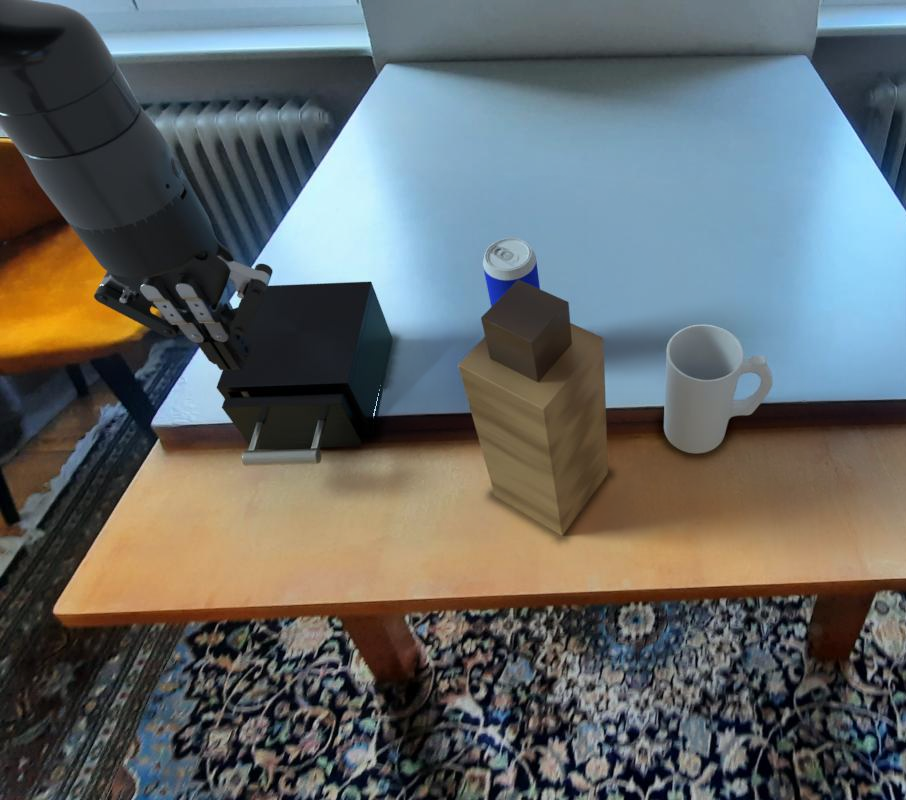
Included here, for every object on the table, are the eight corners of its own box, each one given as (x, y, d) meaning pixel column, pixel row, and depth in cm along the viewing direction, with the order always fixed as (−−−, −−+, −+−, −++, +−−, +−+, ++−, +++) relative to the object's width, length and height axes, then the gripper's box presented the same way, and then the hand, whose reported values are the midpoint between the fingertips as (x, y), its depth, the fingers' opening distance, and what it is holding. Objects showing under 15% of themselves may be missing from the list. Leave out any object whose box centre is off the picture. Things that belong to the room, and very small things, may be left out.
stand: (562, 536, 68) (543, 409, 52) (494, 496, 71) (457, 364, 55) (608, 473, 72) (603, 337, 56) (542, 438, 75) (520, 299, 59)
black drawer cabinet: (374, 437, 76) (347, 382, 69) (254, 441, 76) (216, 387, 69) (393, 338, 84) (371, 281, 77) (285, 343, 85) (253, 286, 77)
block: (538, 383, 54) (532, 342, 50) (489, 358, 55) (480, 317, 52) (572, 343, 56) (568, 301, 52) (524, 321, 58) (518, 279, 54)
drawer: (355, 486, 72) (331, 445, 66) (240, 490, 72) (206, 449, 66) (382, 352, 82) (363, 306, 76) (281, 356, 82) (255, 311, 76)
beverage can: (556, 349, 82) (545, 246, 70) (530, 380, 80) (514, 279, 68) (519, 332, 84) (502, 229, 72) (492, 362, 81) (470, 260, 69)
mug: (662, 456, 73) (668, 382, 63) (659, 402, 77) (664, 324, 67) (764, 455, 72) (786, 380, 63) (756, 401, 76) (775, 322, 67)
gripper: (-9, 230, 45) (140, 400, 58) (205, 221, 44) (305, 395, 58) (44, 156, 49) (171, 331, 63) (239, 147, 49) (324, 325, 63)
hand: (235, 361), depth 60 cm, fingers closed
